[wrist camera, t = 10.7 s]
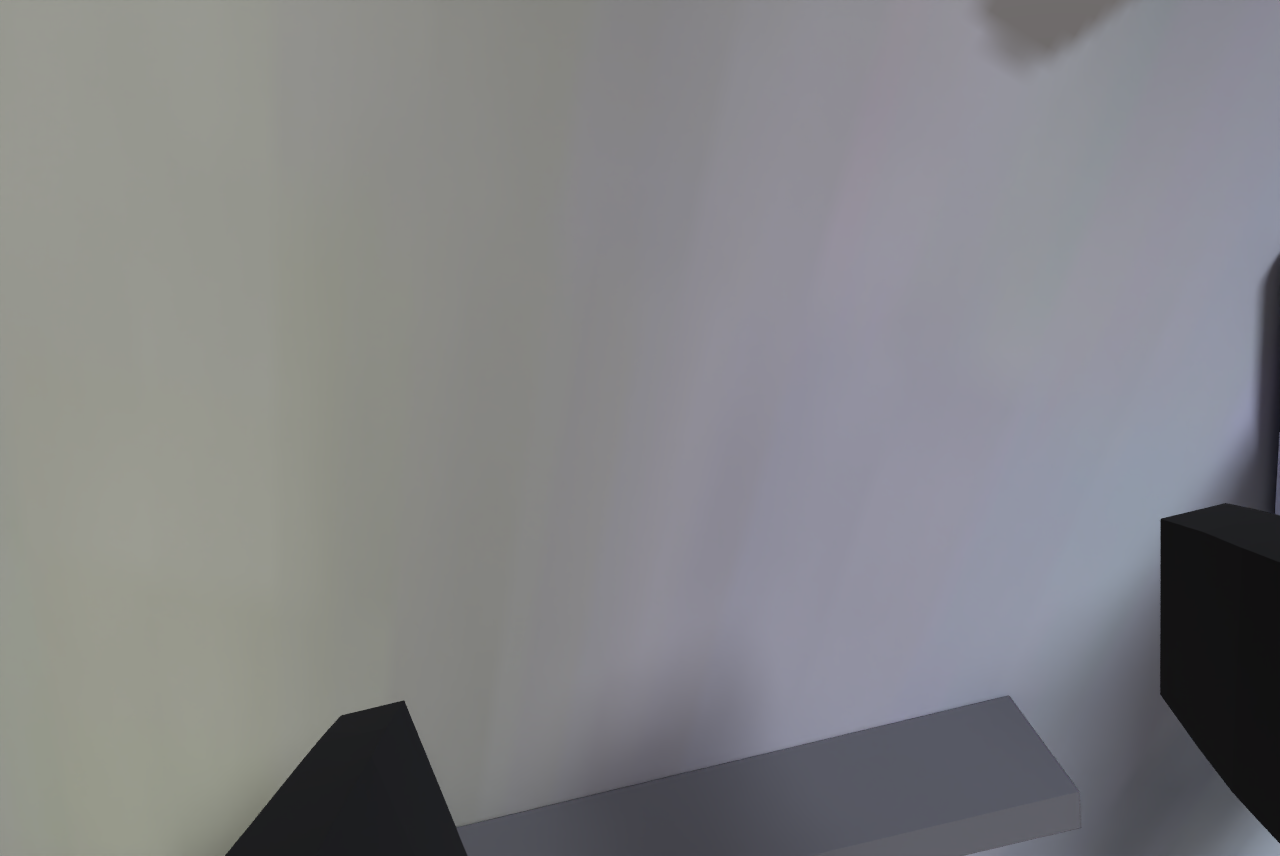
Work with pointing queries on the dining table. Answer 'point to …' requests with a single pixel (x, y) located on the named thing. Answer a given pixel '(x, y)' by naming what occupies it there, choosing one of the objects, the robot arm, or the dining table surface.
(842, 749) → the low wall
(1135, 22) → the dining table surface
